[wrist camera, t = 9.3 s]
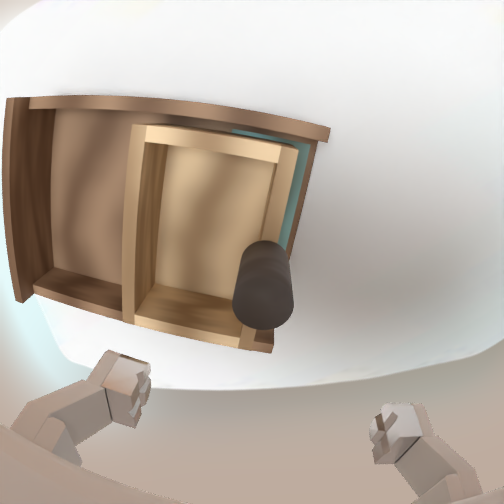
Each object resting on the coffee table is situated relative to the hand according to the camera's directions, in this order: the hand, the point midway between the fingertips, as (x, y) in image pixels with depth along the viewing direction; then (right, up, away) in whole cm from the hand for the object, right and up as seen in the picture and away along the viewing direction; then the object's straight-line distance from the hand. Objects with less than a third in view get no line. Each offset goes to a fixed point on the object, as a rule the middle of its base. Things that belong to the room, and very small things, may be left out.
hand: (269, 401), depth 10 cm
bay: (-9, +9, +17) cm, 21 cm away
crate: (-4, +7, +16) cm, 18 cm away
